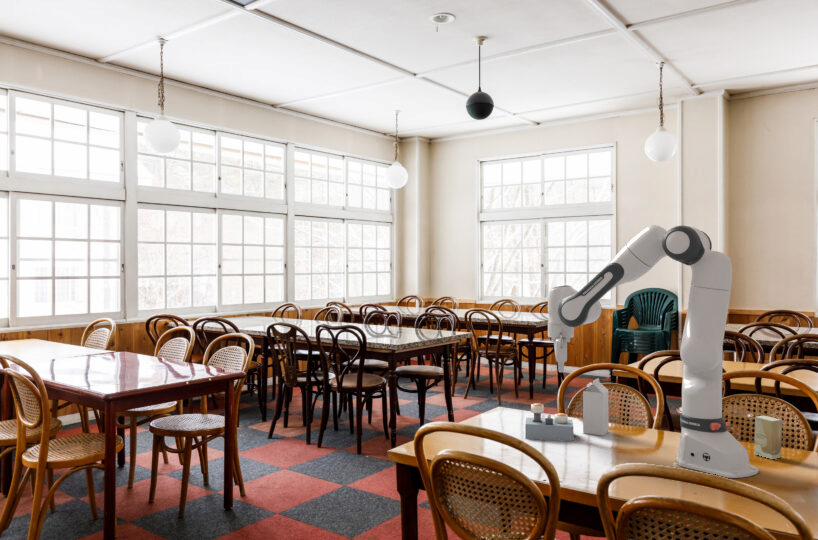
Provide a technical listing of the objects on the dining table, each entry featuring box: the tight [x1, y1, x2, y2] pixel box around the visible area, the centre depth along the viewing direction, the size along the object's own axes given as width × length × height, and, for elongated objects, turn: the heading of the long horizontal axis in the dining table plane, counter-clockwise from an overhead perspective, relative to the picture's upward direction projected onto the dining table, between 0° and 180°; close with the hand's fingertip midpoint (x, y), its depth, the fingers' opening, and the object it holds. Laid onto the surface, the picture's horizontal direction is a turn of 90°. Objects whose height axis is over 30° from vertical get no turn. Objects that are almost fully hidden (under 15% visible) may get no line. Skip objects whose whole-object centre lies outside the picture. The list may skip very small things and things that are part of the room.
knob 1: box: [530, 402, 545, 423], centre depth 222 cm, size 4×4×8 cm
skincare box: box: [754, 415, 783, 460], centre depth 197 cm, size 6×4×12 cm
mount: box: [524, 417, 574, 442], centre depth 221 cm, size 16×10×5 cm, turn 78°
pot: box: [544, 413, 554, 425], centre depth 218 cm, size 3×3×3 cm
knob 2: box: [554, 412, 569, 424], centre depth 220 cm, size 4×4×8 cm
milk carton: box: [582, 377, 609, 437], centre depth 226 cm, size 7×7×19 cm
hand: (560, 371), depth 221 cm, fingers closed
